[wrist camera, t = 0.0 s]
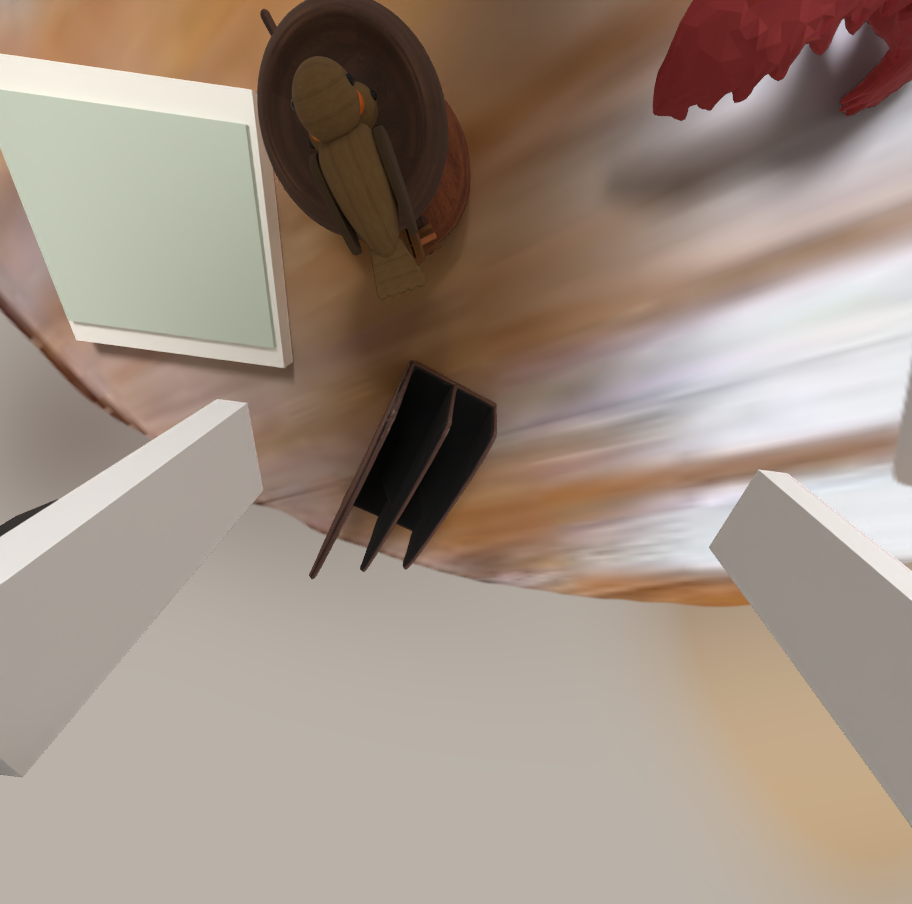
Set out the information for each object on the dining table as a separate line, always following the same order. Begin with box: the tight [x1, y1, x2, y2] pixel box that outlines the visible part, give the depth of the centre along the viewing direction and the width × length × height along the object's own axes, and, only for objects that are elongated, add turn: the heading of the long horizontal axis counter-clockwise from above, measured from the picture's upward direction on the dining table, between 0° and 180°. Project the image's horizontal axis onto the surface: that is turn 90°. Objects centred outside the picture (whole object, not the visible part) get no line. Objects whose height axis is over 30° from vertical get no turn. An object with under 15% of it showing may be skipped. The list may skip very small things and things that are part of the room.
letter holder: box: [309, 360, 497, 579], centre depth 37 cm, size 10×20×14 cm, turn 152°
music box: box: [257, 0, 470, 300], centre depth 21 cm, size 15×11×20 cm
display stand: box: [0, 54, 293, 368], centre depth 32 cm, size 20×20×2 cm
